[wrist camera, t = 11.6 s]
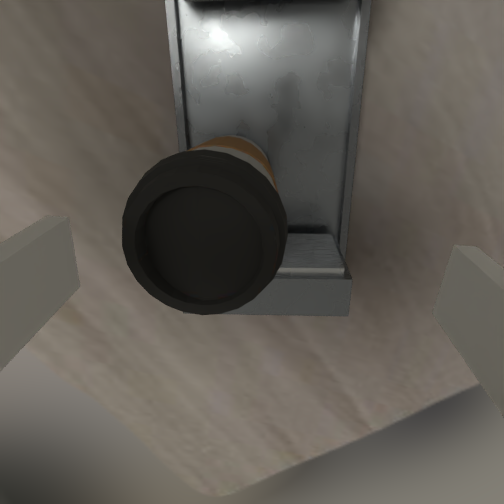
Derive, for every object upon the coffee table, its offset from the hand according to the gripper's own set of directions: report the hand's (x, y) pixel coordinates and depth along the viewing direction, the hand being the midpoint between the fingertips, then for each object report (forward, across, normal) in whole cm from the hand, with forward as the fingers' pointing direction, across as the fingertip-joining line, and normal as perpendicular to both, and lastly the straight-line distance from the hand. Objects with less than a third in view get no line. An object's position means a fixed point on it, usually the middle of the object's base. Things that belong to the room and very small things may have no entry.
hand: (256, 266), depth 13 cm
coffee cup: (+19, -3, -1) cm, 19 cm away
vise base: (+20, 0, +2) cm, 21 cm away
